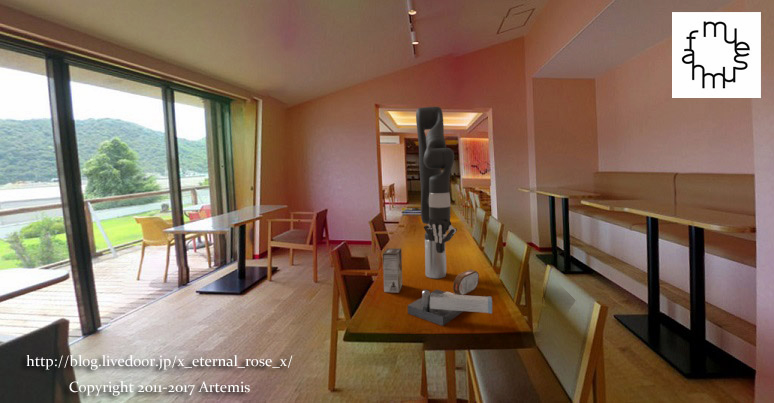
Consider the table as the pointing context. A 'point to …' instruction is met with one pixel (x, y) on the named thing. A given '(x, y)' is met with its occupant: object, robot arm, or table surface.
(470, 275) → the tin
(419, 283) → the table surface
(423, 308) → the plate
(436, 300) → the swing bar
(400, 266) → the coffee box
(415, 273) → the table surface
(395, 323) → the table surface
